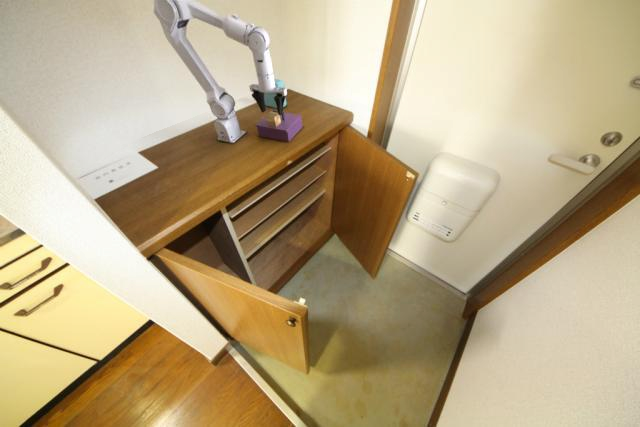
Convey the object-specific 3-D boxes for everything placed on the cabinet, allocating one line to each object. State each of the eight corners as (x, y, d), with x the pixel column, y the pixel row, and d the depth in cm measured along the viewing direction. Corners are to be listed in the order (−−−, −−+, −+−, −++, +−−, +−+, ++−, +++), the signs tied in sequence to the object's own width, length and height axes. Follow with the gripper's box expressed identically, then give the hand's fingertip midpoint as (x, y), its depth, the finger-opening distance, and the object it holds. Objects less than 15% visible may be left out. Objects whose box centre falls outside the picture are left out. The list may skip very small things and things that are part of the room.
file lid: (286, 132, 87) (285, 122, 84) (255, 126, 90) (253, 116, 87) (301, 116, 95) (300, 107, 92) (272, 111, 99) (270, 102, 96)
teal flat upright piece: (287, 106, 114) (283, 80, 105) (281, 109, 111) (277, 83, 102) (269, 101, 118) (264, 76, 109) (263, 105, 116) (258, 79, 107)
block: (276, 127, 88) (274, 117, 85) (267, 125, 89) (265, 115, 86) (280, 122, 91) (279, 112, 88) (272, 121, 92) (270, 111, 89)
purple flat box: (288, 142, 91) (287, 131, 87) (258, 136, 94) (256, 125, 91) (302, 127, 99) (301, 116, 95) (274, 122, 103) (272, 112, 99)
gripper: (288, 71, 77) (293, 111, 87) (253, 68, 81) (261, 106, 91) (279, 78, 73) (284, 118, 83) (242, 74, 76) (252, 113, 87)
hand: (272, 112), depth 87 cm, fingers open, 7 cm apart
